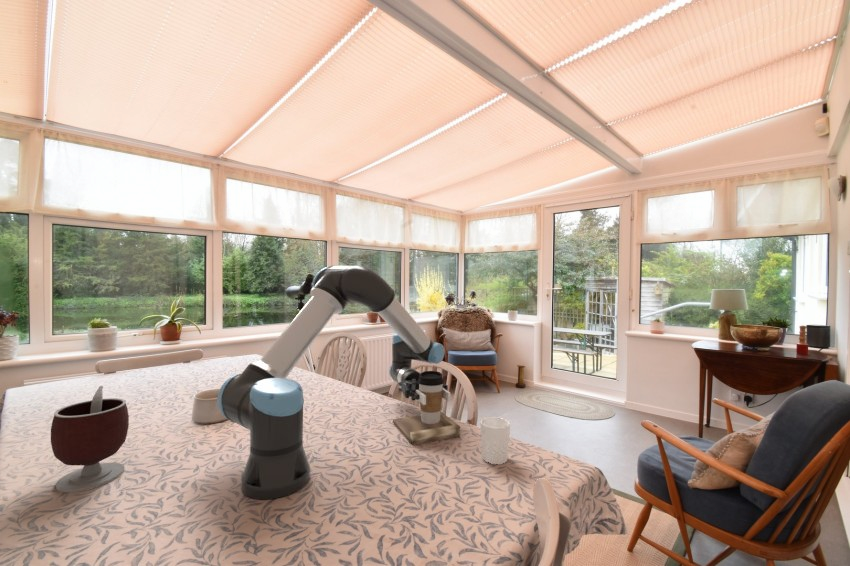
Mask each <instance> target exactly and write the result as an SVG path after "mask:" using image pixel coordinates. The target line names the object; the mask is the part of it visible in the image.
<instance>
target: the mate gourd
mask: <svg viewBox="0 0 850 566" xmlns="http://www.w3.org/2000/svg"><path fill="white" fill-rule="evenodd" d="M103 388H104V386H103V385H100V386H99V387H98V388H97V390H96V391H95V393H94V394H93V397H92V400H85V401H80V402H76V403H72V404H70V405H67V406H63V407H61V408H58V409H57V410H55V411H54V413H53V415H54V416H53V418H52V422H51V427H50V445H51V449H52V453H53V456H54V457H55V458H56V459H57V460H58V461H59V462H61V463H63V464H64V465H66V466H83V467H82V468H78V469H76V470H73V471H72V472H69V473H67V474H65V475H63V476H62V477H61V478H59V479H58V480H57V481H56V482H55V490H56V491H58V492H60V493H78V492H84V491H88V490H92V489H94V488H99V487H102V486H104V485H106V484H109V483H111V482H113V481H114V480H117V479H118V478H119V477H121V476H122V475H123V473H125V466H124V464H122V463H121V462H103V463H100V462H102V461H103V460H106V459H107V458H110V457H111V456H113V455H115V454H116V453H118V451H119V450H120V448H121V447H122V446H123V445H124V443H125V442H126V439H127V436H128V430H129V422H130V421H129V420H130V419H129V417H130V415H129V410H128V406H127V401H126V399H123V398H111V397H110V398H103V397H104V396H103Z"/></svg>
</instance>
